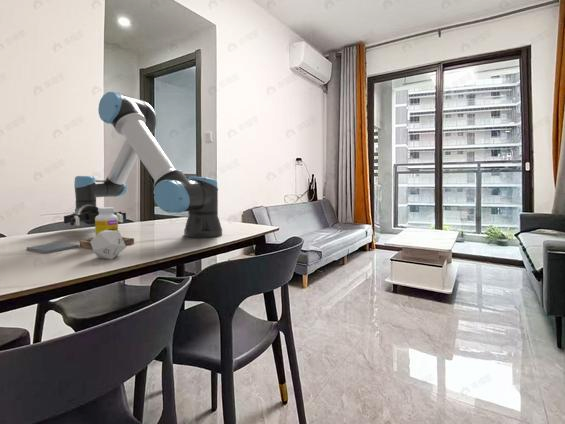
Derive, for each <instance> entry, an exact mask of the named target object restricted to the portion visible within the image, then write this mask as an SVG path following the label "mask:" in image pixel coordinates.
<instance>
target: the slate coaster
mask: <svg viewBox="0 0 565 424" xmlns="http://www.w3.org/2000/svg"><path fill="white" fill-rule="evenodd" d="M76 248H80V244H78V243H77V244H76V243H71V242H65V241H58V242H57V241H56V242H52V243H45V244H40V245H34V246H33V245H32V246H27V247H26V251H29V252H36V253H41V254H50V253H54V252H61V251H66V250H71V249H76Z"/></svg>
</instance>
